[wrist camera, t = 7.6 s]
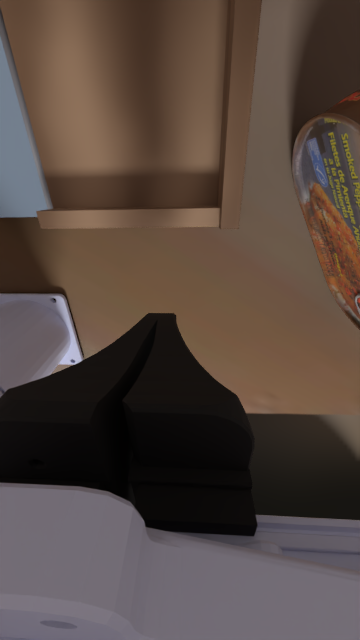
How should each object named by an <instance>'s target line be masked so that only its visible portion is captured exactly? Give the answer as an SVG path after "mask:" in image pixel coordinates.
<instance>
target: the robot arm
mask: <svg viewBox="0 0 360 640" xmlns="http://www.w3.org/2000/svg"><path fill="white" fill-rule="evenodd" d="M53 298H55V299H56V301H55V300H53ZM73 359H74V360H75V361H74V360H73ZM58 364H73V366H71V367H68V368H66V369H64V370H61V371H59V372H56V373H54V374H51V373H52V372H53V371H54V369H55V368H56V367H57V365H58ZM50 374H51V375H50ZM253 450H254V435H253V431H252V428H251V425H250V422H249V420H248V417H247V415H246V413H245V410H244V408H243V406H242V404H241V402H240V400H239V398H238V396H237V395H236V394H234V393H233V392H231V391H230V390H229V389H227V388H226V387H224V386H223V385H222V384H220V383H219V382H218V381H216V380H215V379H214V378H213V377H212V376H211V375H210V374H209V373H208V372H207V371H206V370H205V369H204V368H203V367H202V366H201V365H200V364H199V362H198V361H197V360H196V359H195V357H194V356H193V355H192V353H191V352H190V350H189V349H188V347H187V346H186V344H185V342H184V340H183V338H182V336H181V334H180V332H179V329H178V326H177V323H176V315H175V314H174V313H148V314H147V315H146V316H145V317H144V318H142V319H141V320H140V321H139V322H138V323H137V324H136V325H135V326H134V327H132V328H131V329H130V330H129V331H128V332H126V333H125V334H124V335H123V336H121V337H120V338H119V339H117V340H116V341H115V342H113V343H112V344H110V345H109V346H107V347H106V348H104V349H103V350H101V351H99V352H98V353H96V354H94V355H93V356H91V357H89V358H87V359H85V360H84V359H83V356H82V352H81V349H80V345H79V342H78V338H77V335H76V331H75V328H74V324H73V321H72V317H71V314H70V311H69V307H68V304H67V300H66V298H65V296H64V295H62V294H0V640H360V520H343V519H324V518H305V517H286V516H266V515H256V514H255V509H254V504H253V498H252V494H251V489H252V480H251V475H250V470H249V467H250V463H251V459H252V455H253Z"/></svg>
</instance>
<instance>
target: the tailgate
mask: <svg viewBox="0 0 360 640" xmlns="http://www.w3.org/2000/svg"><path fill="white" fill-rule="evenodd" d="M47 209H53V205H52V202H51V198H50V194H49V190H48V186H47V183H46V179H45V175H44V171H43V167H42V164H41V160H40V156H39V152H38V148H37V145H36V141H35V137H34V133H33V129H32V126H31V122H30V118H29V114H28V110H27V107H26V103H25V99H24V95H23V91H22V88H21V84H20V80H19V76H18V72H17V69H16V65H15V61H14V57H13V53H12V49H11V46H10V42H9V38H8V34H7V30H6V27H5V23H4V19H3V15H2V11H1V8H0V218H4V217H37V213H36V211H40V210H47Z"/></svg>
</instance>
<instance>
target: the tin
mask: <svg viewBox="0 0 360 640" xmlns="http://www.w3.org/2000/svg"><path fill="white" fill-rule="evenodd" d="M292 174H293V181H294V186H295V190H296V194H297V197H298V200H299V203H300V207H301V209H302V212H303V215H304V218H305V221H306V224H307V226H308V230H309V232H310V235H311V238H312V241H313V244H314V247H315V249H316V252H317V256H318V259H319V262H320V264H321V267H322V270H323V273H324V276H325V279H326V282H327V284H328V287H329V289H330V291H331V292H332V294H333V296H334V298H335V300H336V301H337V303H338V305H339V306H340V308H341V309H342V311H343V312H344V313H345V314H346V316H347V317H348V318H349V319H350V320H351V322H352V323H353V324H354V325H355V326H356V327H357V328H358V329H359V330H360V90H358V91H356V92H354V93H353V94H351V95H349V96H348V97H346V98H344V99H343V100H342V101H340V102H339V103H337V104H336V105H335V106H333V107H332V108H330V109H329V110H328V111H326V112H325V113H323V114H320V115H317V116H315V117H313V118H311V119H310V120H309V121H307V122H306V123H305V124H304V125H303V127H302V128H301V130H300V131H299V133H298V135H297V138H296V141H295V144H294V148H293V156H292Z"/></svg>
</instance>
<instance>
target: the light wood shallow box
mask: <svg viewBox="0 0 360 640" xmlns="http://www.w3.org/2000/svg"><path fill="white" fill-rule="evenodd" d="M261 3H262V0H0V8H1V11H2V15H3V19H4V23H5V27H6V30H7V34H8V38H9V42H10V46H11V49H12V53H13V57H14V61H15V65H16V69H17V72H18V76H19V80H20V84H21V88H22V91H23V95H24V99H25V103H26V107H27V110H28V114H29V118H30V122H31V126H32V129H33V133H34V137H35V141H36V145H37V148H38V152H39V156H40V160H41V164H42V167H43V171H44V175H45V179H46V183H47V186H48V190H49V194H50V198H51V202H52V205H53V209H47V210H40V211H36V213H37V217H38V220H39V223H40V227H41V229H69V228H149V227H219V228H220V229H239V221H240V211H241V201H242V191H243V181H244V171H245V162H246V152H247V142H248V132H249V122H250V112H251V102H252V92H253V82H254V72H255V62H256V53H257V43H258V33H259V23H260V13H261Z"/></svg>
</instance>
